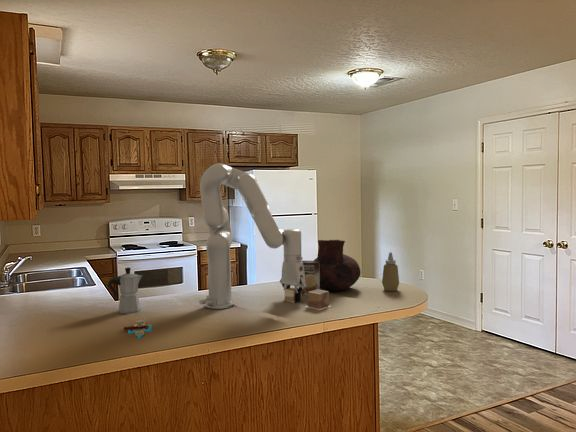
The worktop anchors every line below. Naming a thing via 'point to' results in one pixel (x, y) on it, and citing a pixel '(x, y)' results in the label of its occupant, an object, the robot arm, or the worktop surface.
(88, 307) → the worktop surface
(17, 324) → the worktop surface
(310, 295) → the walnut base block
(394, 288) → the squeeze bottle
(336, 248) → the jug
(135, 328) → the gear mechanism
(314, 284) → the coffee box
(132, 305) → the coffee maker
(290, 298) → the maple cube
